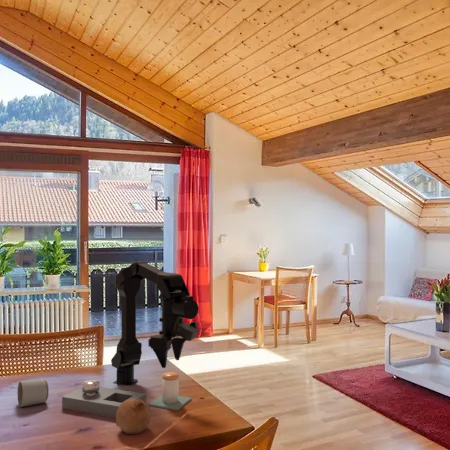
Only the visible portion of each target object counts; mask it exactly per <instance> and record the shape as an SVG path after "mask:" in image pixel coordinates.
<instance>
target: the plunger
mask: <svg viewBox="0 0 450 450" xmlns="http://www.w3.org/2000/svg"><path fill="white" fill-rule="evenodd" d="M81 383H82V384H81V387H82V392H84V393H86V395H90V396H93V395H95V392H98V391H99V387H100V381H99V380H97V379H88V380H85V381H83V382H81Z"/></svg>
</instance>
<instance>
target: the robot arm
mask: <svg viewBox="0 0 450 450" xmlns="http://www.w3.org/2000/svg"><path fill="white" fill-rule="evenodd" d="M145 279H146V280H147V281H149V282H151V283H153V284H155V285H156V286H155V287H156V289H157V290H158V291H160V292H161V294H159V295H158V297H157V298H158V299H159V300H161V317H160V318H159V320H158V321H159V322H161V330H159V334H156V335H153V336H151V337H149V339H148V342H147V345H148V347H150V349H152V350H153V352H154V354H155V356H156V358H157V360H158V362H159V364H160V366H161V368H162V369H166V367H167V363H168V352H169V351H170V350H171V349H172V351H173V355H174V358H175V360H176V361H179V360H180V358H181V354H182V352H183V348H184V344H185V343H186V342H187V341H188V342H191V341H192V340H195V339H196V336H197V334H198V333H199V331H200V330H199V325H198V322H196V321H195V320H194V321H191V322H190V323H188V322H184V319H187V320H192V319H195V318H196V317H197V315H198V313H199V309H200V308H199V306H198V305H199V304H198V303H197V301H196V300H194V295H191V294H190V292H189V291H190V290H189V288H188V287H187V284H186V283H185V280H184V278H183V275H181V273H175V272H165V271H164V270H161V269H159V268H157V267H155V266H153V265H151V264H149V263H148V262H146V261H144V260H143V261H134V262H132V263H131V264H130V265H129V266H128V267H127V266H126V268H124V269H122V270H121V271H119V272H118V274H117V275H116V277H115V283H116V290H117V291H118V293H119V295H120V296H121V338H120V340H119V341H118V343H117V344H116V350H115V351H116V352H115V354H114V355H113V357H112V358H111V360H110V362H111V367H113V368H115V369H116V380H115V381H113V384H115V385H123V386H132V385H133V384H135V383H137V382H138V379H136V378H135V366H137V365H138V366H139V365H140V362H141V358H142V355H143V352H142V347H143V346H142V345H143V344H142V342H141V341H139V340H138V339H137V295H138V293H139V292H140V291H141V285H142V282H143V280H145Z"/></svg>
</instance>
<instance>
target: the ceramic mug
mask: <svg viewBox="0 0 450 450" xmlns="http://www.w3.org/2000/svg"><path fill="white" fill-rule="evenodd" d="M16 393H17V403H18V406H19V408H22V407H29V406H33V405H39V404H42V403H45V402H47V400H48V398H49V384H48V381H47V380H46V379H41V378H40V379H39V378H38V379H31V380H30V379H28V380H27V379H26V380H20V381H19V382H18V386H17V392H16Z"/></svg>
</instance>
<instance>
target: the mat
mask: <svg viewBox="0 0 450 450" xmlns="http://www.w3.org/2000/svg"><path fill="white" fill-rule="evenodd" d="M190 401H192V397H189V396H188V397H187V396H183V395H182V396H181V395H178V402H177V403H173V404H166V403H163V402H162V394H161V395H159V396H158V397H157V398H155V399H154V400H152V401H151V402H150V403H148V404H147V405H148V407H154V408H159V409H166V410H171V411H176V412H177V411H178V410H180V409H181V408H183V407H184V406H185V405H186V404H188V403H189V402H190Z"/></svg>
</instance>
